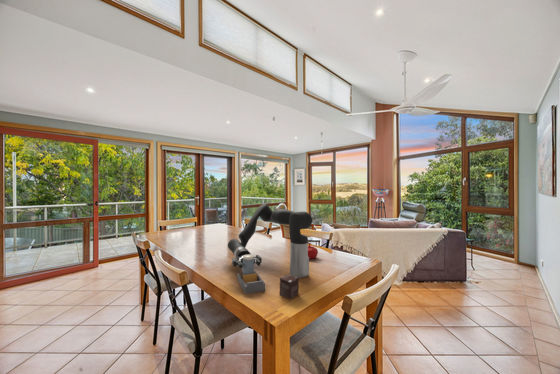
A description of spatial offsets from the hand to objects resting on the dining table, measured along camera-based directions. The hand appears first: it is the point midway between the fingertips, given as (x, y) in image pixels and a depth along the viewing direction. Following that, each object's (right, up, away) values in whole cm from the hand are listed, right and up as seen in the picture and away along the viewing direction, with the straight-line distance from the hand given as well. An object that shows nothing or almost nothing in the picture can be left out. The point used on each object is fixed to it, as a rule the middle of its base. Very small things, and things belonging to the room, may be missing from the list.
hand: (250, 265), depth 106 cm
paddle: (0, -9, +1) cm, 9 cm away
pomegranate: (+34, -10, +41) cm, 54 cm away
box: (+18, -10, -9) cm, 22 cm away
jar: (-2, -9, +3) cm, 10 cm away
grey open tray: (0, -9, 0) cm, 9 cm away
